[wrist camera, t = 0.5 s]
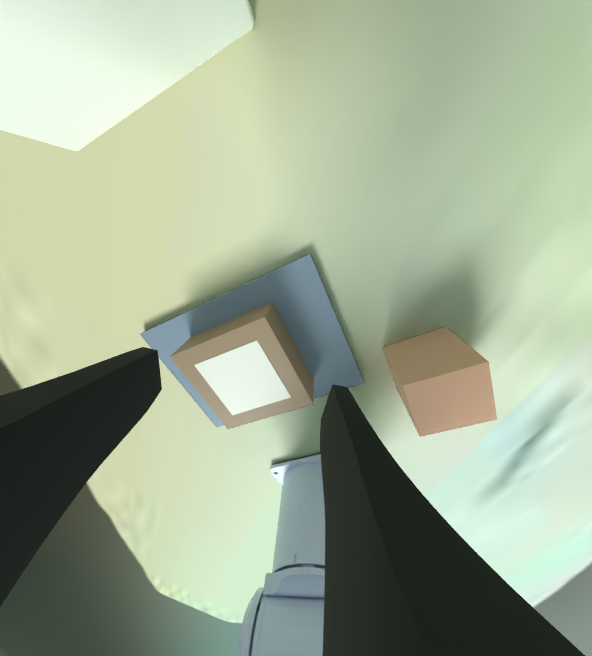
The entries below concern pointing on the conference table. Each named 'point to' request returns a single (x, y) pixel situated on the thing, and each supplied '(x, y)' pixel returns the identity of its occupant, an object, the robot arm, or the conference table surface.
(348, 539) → the robot arm
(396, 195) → the conference table surface
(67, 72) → the gable box
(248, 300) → the plate
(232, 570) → the conference table surface
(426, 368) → the terracotta cube
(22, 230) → the conference table surface
